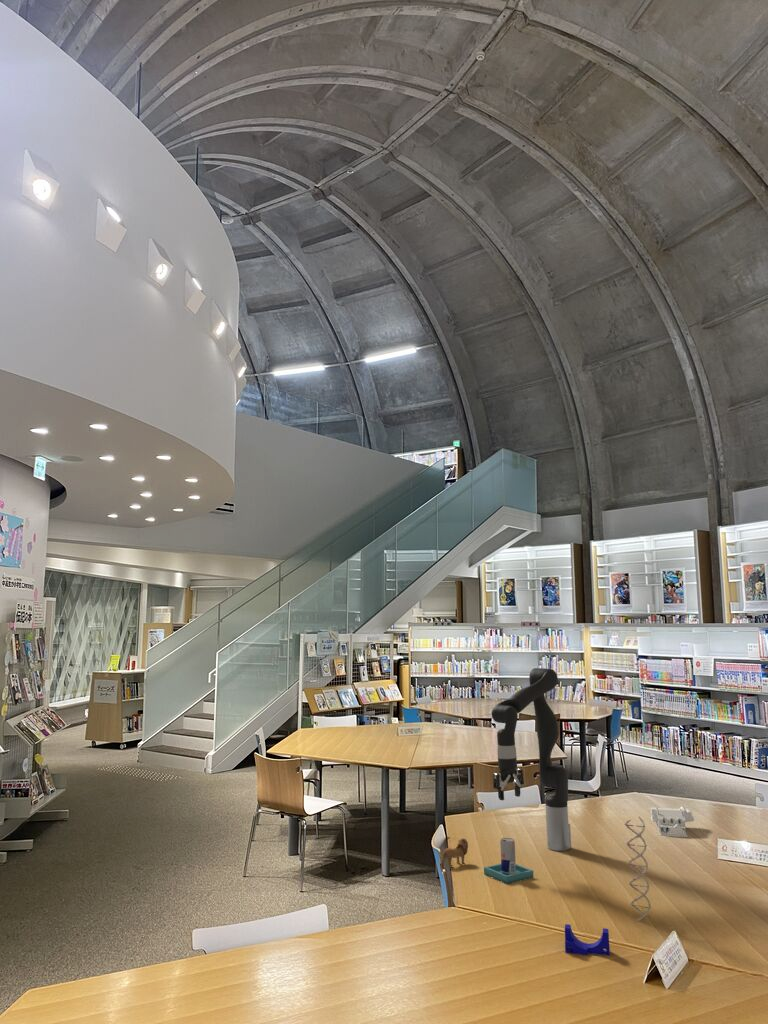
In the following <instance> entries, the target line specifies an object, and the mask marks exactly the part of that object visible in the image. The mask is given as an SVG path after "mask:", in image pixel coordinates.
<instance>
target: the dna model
mask: <svg viewBox="0 0 768 1024" xmlns="http://www.w3.org/2000/svg"><path fill="white" fill-rule="evenodd" d="M638 819H639V820H640V821H641V823H642V825H635V827H637V828H642V829H641V831H639V833H638V832H636V831H635V830H634V829H633V828H631V827H634V825H632V824H629V822H630V823H631V821H632V820H631V819H629V820H626V822H625V823H624V826H625V827H626V829H628V830H629V831H631V832H632V833H633V834H635V835H636V836H634V837H631V839H629V840H628V841H627V842H626V846H627V847H628V848H629V849H631V850H632V851H633V852H634V853H636V854H637V855H636V856H635V857H633V858H631V859H630V860H628V862H627V865H628V866H629V868H631V869H632V870H634V871H635V872H636V873H638V874H639V875H638V876H637V877H634V878H632V879H631V880H630V881H629V883H628V884H629V886H630V887H631V888H632V889H634V890H635V891H637V892H638V893H639V894H640V896H638V897H637V898H634V899H633V900H632V901H630V905H631V907H633V908H634V909H635V910H637V911H638V912H640V913H641V914H642V916H640V917H639V918H638V919H636V920H637V921H641V920H643V919H644V918H645V917H647V916H648V915H649V913H650V911H651V907H652V905H651V904H652V903H651V901H650V900H649V898H648V897H647V896H646V895H647V893H648V892H649V889H650V884H649V879H647V877H646V876H645V874H646V873H647V871H648V867H649V864H648V861H647V859H646V858H645V857H644V856H643V855H644V853H645V852H646V850H647V844H646V841H645V839H644V838H643V837H642V834H643V833H644V832H645V830H646V829H645V828H646V825H645V822H644V820H643V819H642V818H641V817H640V816H638ZM638 838H640V839H641V840H642V842H643V845H639V844H637V847H642V848H643V849H642V851H640V852H641V853H640V852H638V850H636V849H635V848H633V847H636V845H635V844H630V843H631V842H633V841H634V840H635V839H638ZM632 846H633V847H632ZM639 858H641V859H643V862H644V864H645V865H641V864H640V865H638V867H641V868H643V867H644V870H643V871H642V872H640V871H639V870H638V869H637V868H636V866H637V865H636V864H631V863H632V862H633V861H636V860H637V859H639ZM634 866H635V867H634ZM641 877H642V878H643V879H644V880H645V881H646V885H647V886H646V885H639V884H632V883H634V882H635V881H636V880H638V879H640V878H641ZM638 886H639V887H642V888H646V889H645V891H644V892H642V891H641V890H639V888H638ZM642 898H645V901H646V902H647V903H648V906H644V905H642V906H641V905H636V904H635V902H637V901H639V900H640V899H642ZM638 907H639V908H638ZM640 908H644V909H647V910H646V912H643V911H642V910H641V909H640Z"/></svg>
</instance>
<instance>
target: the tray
mask: <svg viewBox="0 0 768 1024" xmlns="http://www.w3.org/2000/svg"><path fill="white" fill-rule="evenodd" d="M483 874H486V875H485V876H487V875H488V876H487V877H489V876H490V878H491V877H493V878H492V879H494V878H495V879H494V880H496V879H497V881H498V880H499V881H498V882H501V881H502V882H501V883H503V882H504V883H503V884H505V885H508V883H509V884H513V883H512V882H514V883H517V882H516V881H518V882H521V881H520V880H522V881H526V880H529V878H530V879H533V877H534V870H533V869H530V868H528V867H525V866H523V865H519V864H517V863H516V873H515V874H511V875H505V874H502V872H501V863H498V864H492V865H488V866H484V867H483ZM525 879H526V880H525Z"/></svg>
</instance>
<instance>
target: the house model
mask: <svg viewBox="0 0 768 1024" xmlns="http://www.w3.org/2000/svg"><path fill="white" fill-rule="evenodd" d="M649 811H650V819H651V821H652V822H653V823H654V824H655V826H656V828H657V831H658V833H659V835H660V836H661V837H677V838H678V837H679V838H688V837H689V836H688V834H687V832H686V823H688V822H689V823H691V822H694V821H695V818H694V816H693V815H692V814H693V812H692V811H691V810H690V809H689V808H685V807H684V806H683V805H682V806H680V807H679V808H670V807H655V806H650V810H649Z"/></svg>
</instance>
